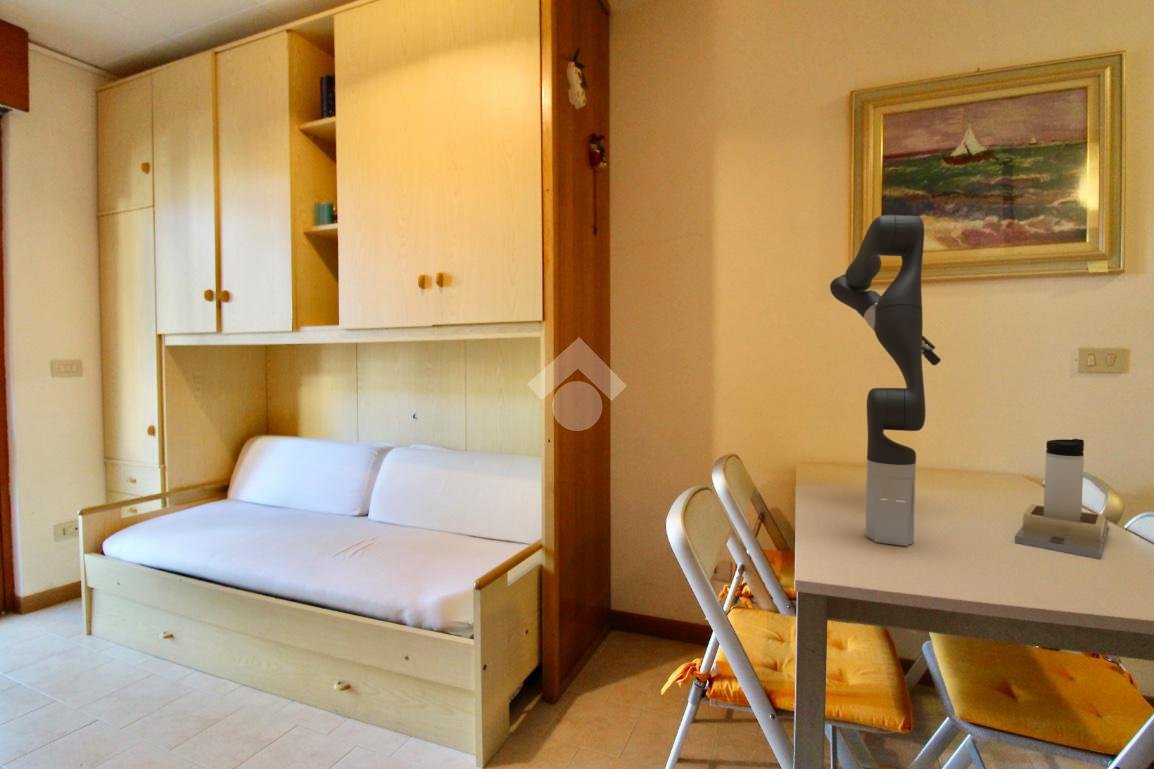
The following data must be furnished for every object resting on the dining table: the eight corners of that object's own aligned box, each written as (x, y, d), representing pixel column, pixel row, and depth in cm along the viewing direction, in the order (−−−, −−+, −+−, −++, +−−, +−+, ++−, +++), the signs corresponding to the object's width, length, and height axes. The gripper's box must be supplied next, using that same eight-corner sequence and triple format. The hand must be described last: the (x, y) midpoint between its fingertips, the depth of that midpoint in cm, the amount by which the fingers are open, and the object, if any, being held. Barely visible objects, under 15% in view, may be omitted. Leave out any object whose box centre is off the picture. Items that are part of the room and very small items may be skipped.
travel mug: (1090, 531, 116) (1094, 441, 115) (1059, 531, 116) (1063, 441, 115) (1064, 523, 122) (1068, 437, 121) (1035, 523, 122) (1038, 437, 121)
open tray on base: (1099, 559, 104) (1100, 536, 103) (1014, 542, 113) (1015, 522, 113) (1107, 526, 124) (1108, 507, 124) (1035, 515, 134) (1035, 497, 133)
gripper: (876, 309, 139) (918, 352, 129) (913, 311, 145) (955, 352, 135) (858, 331, 144) (897, 373, 134) (894, 332, 150) (934, 373, 140)
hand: (926, 363), depth 134 cm, fingers open, 8 cm apart
